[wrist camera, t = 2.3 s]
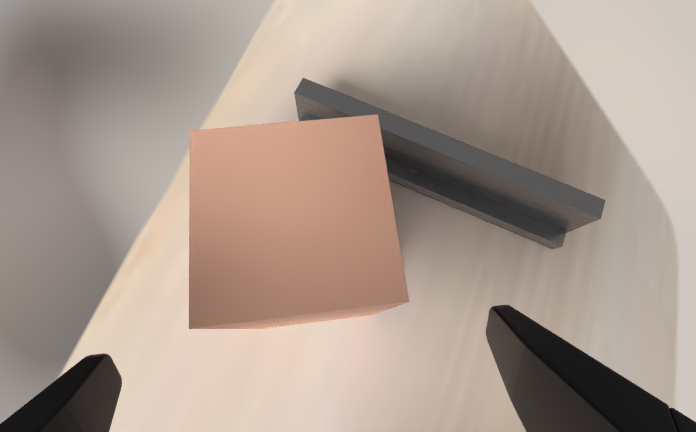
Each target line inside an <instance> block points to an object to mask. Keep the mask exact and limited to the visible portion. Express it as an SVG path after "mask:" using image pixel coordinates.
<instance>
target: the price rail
mask: <svg viewBox="0 0 696 432" xmlns="http://www.w3.org/2000/svg"><path fill="white" fill-rule="evenodd" d="M294 94H295V99H296V105H297V111H298V117H299V121H308V120H320V119H331V118H343V117H355V116H366V115H378V118H379V124H380V130H381V136H382V142H383V148H384V154H385V160H386V166H387V172H388V178H389V180H391V181H394V182H396V183H398V184H401V185H403V186H405V187H408V188H410V189H412V190H415V191H417V192H420V193H422V194H424V195H427V196H429V197H431V198H434V199H436V200H438V201H441V202H443V203H446V204H448V205H450V206H453V207H455V208H457V209H460V210H462V211H464V212H467V213H469V214H472V215H474V216H476V217H479V218H481V219H483V220H486V221H488V222H490V223H493V224H495V225H498V226H500V227H502V228H505V229H507V230H509V231H512V232H514V233H516V234H519V235H521V236H524V237H526V238H528V239H531V240H533V241H535V242H538V243H540V244H542V245H545V246H547V247H550V248H552V249H556V248H558V247H561V246H562V245H563V242H564V238H565V234H566V233H567V232H569V231H572V230H574V229H577V228H579V227H581V226H584V225H586V224H589V223H591V222H593V221H596V220H598V219H601V216H602V211H603V207H604V203H605V200H603V199H601V198H598V197H596V196H593V195H591V194H588V193H586V192H584V191H581V190H579V189H576V188H574V187H571V186H569V185H566V184H564V183H561V182H559V181H556V180H554V179H551V178H549V177H547V176H544V175H542V174H539V173H537V172H534V171H532V170H529V169H527V168H524V167H522V166H519V165H517V164H514V163H512V162H510V161H507V160H505V159H502V158H500V157H497V156H495V155H492V154H490V153H487V152H485V151H482V150H480V149H477V148H475V147H473V146H470V145H468V144H465V143H463V142H460V141H458V140H455V139H453V138H450V137H448V136H445V135H443V134H440V133H438V132H436V131H433V130H431V129H428V128H426V127H423V126H421V125H418V124H416V123H413V122H411V121H408V120H406V119H403V118H401V117H399V116H396V115H394V114H391V113H389V112H386V111H384V110H381V109H379V108H376V107H374V106H371V105H369V104H366V103H364V102H361V101H359V100H357V99H354V98H352V97H349V96H347V95H344V94H342V93H339V92H337V91H334V90H332V89H329V88H327V87H324V86H322V85H320V84H317V83H315V82H312V81H310V80H307V79H305V78H303V79H302V81H301V82H300V84H299V86H298V87H297V89H296V91H295V93H294Z"/></svg>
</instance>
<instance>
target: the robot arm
mask: <svg viewBox="0 0 696 432" xmlns="http://www.w3.org/2000/svg"><path fill="white" fill-rule="evenodd" d="M486 337H487V341H488V343H489V346H490V348H491V351H492V354H493V356H494V359H495V361H496V364H497V366H498V369H499V372H500V374H501V377H502V379H503V382H504V385H505V387H506V390H507V392H508V395H509V397H510V399H511V402H512V404H513V406H514V408H515V410H516V412H517V414H518V416H519V418H520V420H521V422H522V424H523V426H524V428H525V430H526V432H696V422H694V421H693V420H691V419H690V418H688V417H686V416H685V415H683V414H682V413H680V412H679V411H677V410H675V409H674V408H669V406H668V405H667V404H666V403H664V402H662V401H661V400H659V399H658V398H656V397H654V396H653V395H651V394H650V393H648V392H646V391H645V390H643V389H642V388H640V387H638V386H637V385H635V384H634V383H632V382H631V381H629V380H627V379H626V378H624V377H623V376H621V375H619V374H618V373H616V372H615V371H613V370H611V369H610V368H608V367H607V366H605V365H603V364H602V363H600V362H599V361H597V360H595V359H594V358H592V357H591V356H589V355H587V354H586V353H584V352H583V351H581V350H580V349H578V348H576V347H575V346H573V345H572V344H570V343H568V342H567V341H565V340H564V339H562V338H560V337H559V336H557V335H556V334H554V333H552V332H551V331H549V330H548V329H546V328H544V327H543V326H541V325H540V324H538V323H536V322H535V321H533V320H532V319H530V318H529V317H527V316H525V315H524V314H522V313H521V312H519V311H517V310H516V309H514V308H513V307H511V306H509V305H500V306H493V307H491V309H490V311H489V316H488V322H487V328H486ZM121 386H122V379H121V375H120V374H119V372H118V370H117V368H116V366H115V364H114V362H113V360H112V358H111V357H110V356H109V355H108V354H96V355H89V356H87V357H85V358H84V359H82V360H81V361H80V362H78V363H77V364H76V365H75V366H73V367H72V368H71V369H69V370H68V371H67V372H66V373H64V374H63V375H62V376H61V377H59V378H58V379H57V380H56V381H54V382H53V383H52V384H50V385H49V386H48V387H47V388H45V389H44V390H43V391H42V392H40V393H39V394H38V395H37V396H35V397H34V398H33V399H31V400H30V401H29V402H28V403H27V404H25V405H24V406H23V407H21V408H20V409H19V410H18V411H16V412H15V413H14V414H13V415H11V416H10V417H9V418H7V419H6V420H5V421H4V422H2V423H1V424H0V432H109V430H110V427H111V423H112V419H113V416H114V412H115V409H116V405H117V401H118V398H119V394H120V391H121Z"/></svg>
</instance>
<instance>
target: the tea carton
mask: <svg viewBox="0 0 696 432" xmlns="http://www.w3.org/2000/svg"><path fill="white" fill-rule="evenodd" d="M406 302H409V298H408V292H407V286H406V280H405V274H404V268H403V262H402V256H401V250H400V244H399V238H398V232H397V226H396V220H395V214H394V208H393V202H392V196H391V190H390V184H389V178H388V172H387V166H386V160H385V154H384V148H383V142H382V136H381V130H380V124H379V118H378V115H366V116H355V117H343V118H331V119H320V120H308V121H297V122H285V123H274V124H262V125H251V126H239V127H228V128H216V129H205V130H193V131H190V219H189V329H265V328H273V327H280V326H288V325H296V324H304V323H312V322H320V321H328V320H336V319H344V318H352V317H360V316H368V315H373V314H375V313H378V312H381V311H384V310H387V309H389V308H392V307H395V306H398V305H401V304H403V303H406Z"/></svg>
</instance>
